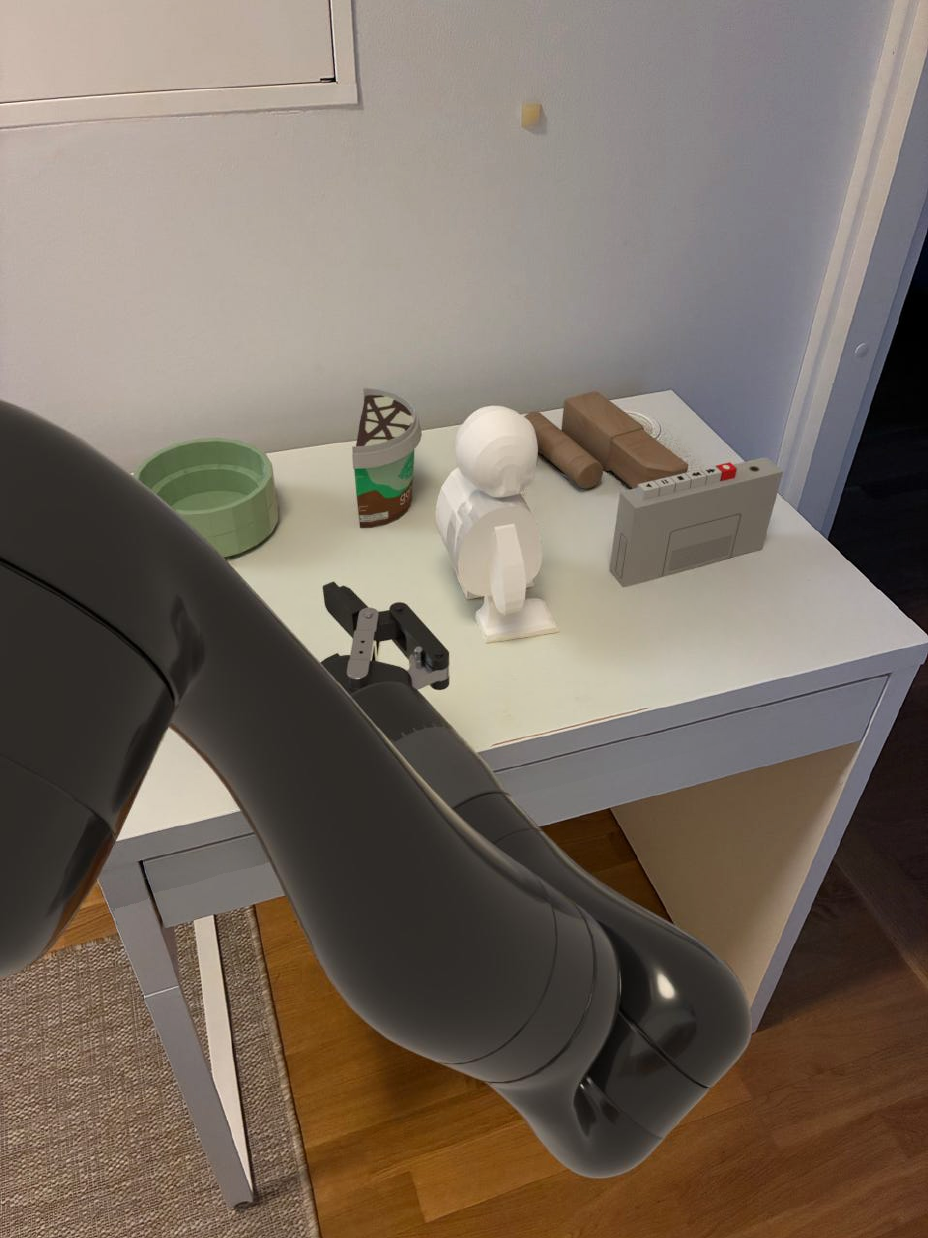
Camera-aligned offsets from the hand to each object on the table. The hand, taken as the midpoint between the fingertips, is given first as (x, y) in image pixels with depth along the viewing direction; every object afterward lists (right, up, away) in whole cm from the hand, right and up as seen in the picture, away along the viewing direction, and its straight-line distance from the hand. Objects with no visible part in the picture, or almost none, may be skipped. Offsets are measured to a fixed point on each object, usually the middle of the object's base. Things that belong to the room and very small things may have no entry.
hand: (268, 619), depth 60 cm
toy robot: (+15, +1, +28) cm, 32 cm away
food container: (+5, +12, +40) cm, 42 cm away
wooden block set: (+24, +15, +44) cm, 52 cm away
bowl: (-13, +10, +37) cm, 40 cm away
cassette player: (+34, +6, +33) cm, 48 cm away
